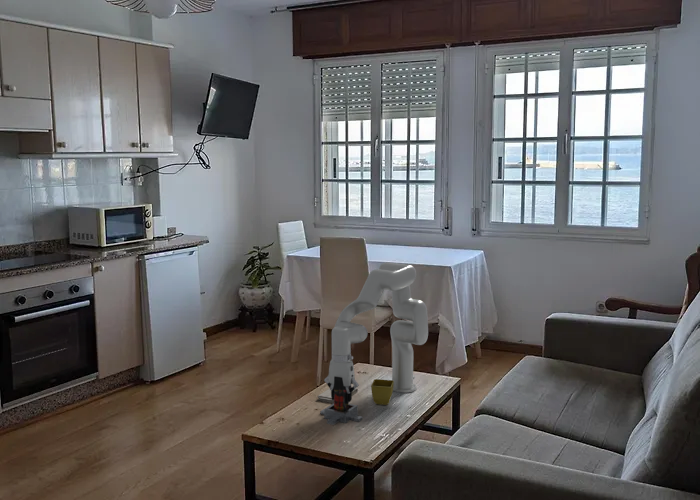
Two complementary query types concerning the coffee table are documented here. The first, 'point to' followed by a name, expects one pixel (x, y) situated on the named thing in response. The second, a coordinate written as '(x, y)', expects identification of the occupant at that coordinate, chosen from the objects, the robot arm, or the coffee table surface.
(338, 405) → the deodorant
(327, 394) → the washcloth
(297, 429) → the coffee table surface
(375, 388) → the flower pot
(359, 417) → the tabbed square frame
